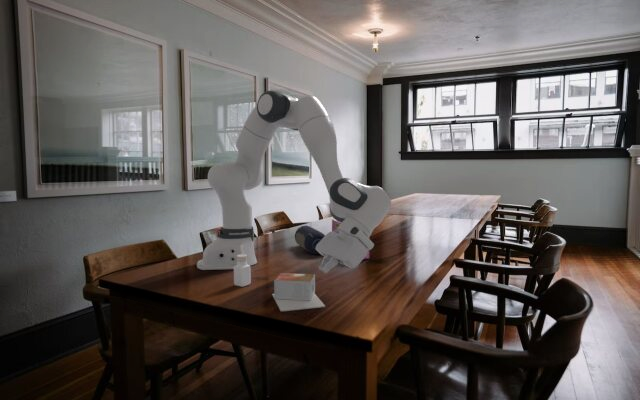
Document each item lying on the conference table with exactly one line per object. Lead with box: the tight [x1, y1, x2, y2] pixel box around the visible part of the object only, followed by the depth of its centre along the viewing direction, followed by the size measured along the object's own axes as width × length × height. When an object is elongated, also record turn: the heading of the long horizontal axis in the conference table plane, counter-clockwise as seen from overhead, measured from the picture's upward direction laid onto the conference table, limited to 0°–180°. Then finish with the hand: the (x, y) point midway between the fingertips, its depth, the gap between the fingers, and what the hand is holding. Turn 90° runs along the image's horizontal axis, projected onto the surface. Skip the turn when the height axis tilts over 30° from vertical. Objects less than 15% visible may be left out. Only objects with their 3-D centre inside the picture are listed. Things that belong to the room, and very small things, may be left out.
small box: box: [273, 272, 316, 301], centre depth 115 cm, size 8×6×10 cm
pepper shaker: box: [233, 254, 252, 288], centre depth 127 cm, size 4×4×10 cm
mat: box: [271, 293, 326, 313], centre depth 112 cm, size 12×14×1 cm
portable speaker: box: [294, 225, 326, 256], centre depth 178 cm, size 25×10×10 cm, turn 18°
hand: (322, 270), depth 113 cm, fingers closed
